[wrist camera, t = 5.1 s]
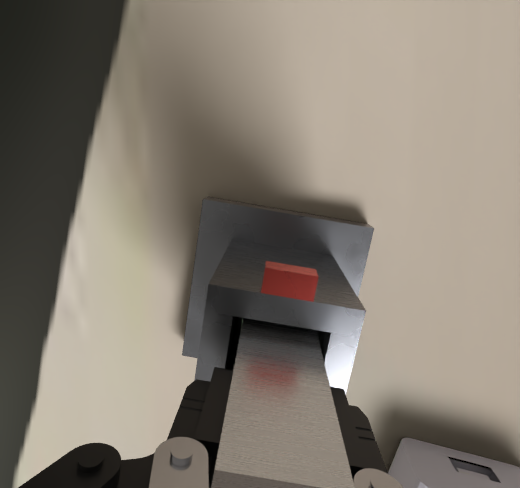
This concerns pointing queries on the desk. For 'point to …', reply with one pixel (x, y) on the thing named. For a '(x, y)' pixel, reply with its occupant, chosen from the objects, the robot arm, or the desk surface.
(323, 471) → the column
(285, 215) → the stand
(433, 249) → the desk surface
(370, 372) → the desk surface
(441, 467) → the charger
